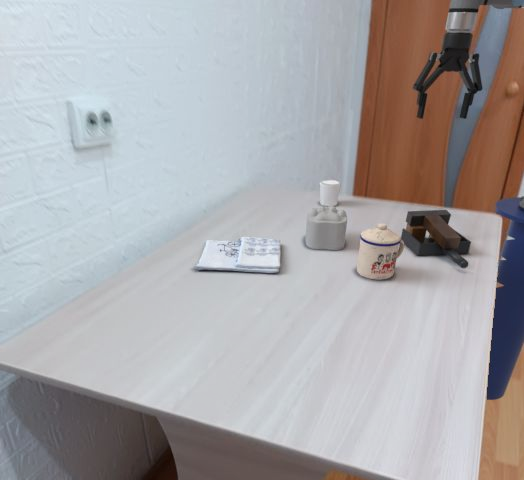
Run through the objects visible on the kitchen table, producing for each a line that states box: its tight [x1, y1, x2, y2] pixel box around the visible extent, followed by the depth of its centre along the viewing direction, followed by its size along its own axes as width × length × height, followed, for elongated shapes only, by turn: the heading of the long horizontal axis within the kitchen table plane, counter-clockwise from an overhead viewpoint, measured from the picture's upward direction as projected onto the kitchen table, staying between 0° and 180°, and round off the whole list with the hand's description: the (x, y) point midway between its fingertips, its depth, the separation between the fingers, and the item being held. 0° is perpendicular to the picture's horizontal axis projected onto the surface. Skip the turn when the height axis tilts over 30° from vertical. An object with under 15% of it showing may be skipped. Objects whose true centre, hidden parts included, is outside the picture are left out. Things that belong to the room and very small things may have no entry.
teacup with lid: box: [356, 222, 405, 281], centre depth 110 cm, size 12×9×12 cm
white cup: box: [319, 179, 342, 207], centre depth 156 cm, size 7×7×7 cm
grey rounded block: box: [304, 205, 348, 251], centre depth 128 cm, size 10×13×9 cm
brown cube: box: [405, 223, 428, 243], centre depth 130 cm, size 4×4×4 cm
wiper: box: [405, 209, 461, 249], centre depth 124 cm, size 11×3×16 cm
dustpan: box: [400, 227, 472, 269], centre depth 122 cm, size 22×14×3 cm, turn 8°
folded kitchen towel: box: [193, 235, 281, 274], centre depth 119 cm, size 19×20×2 cm
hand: (441, 118), depth 142 cm, fingers open, 13 cm apart
